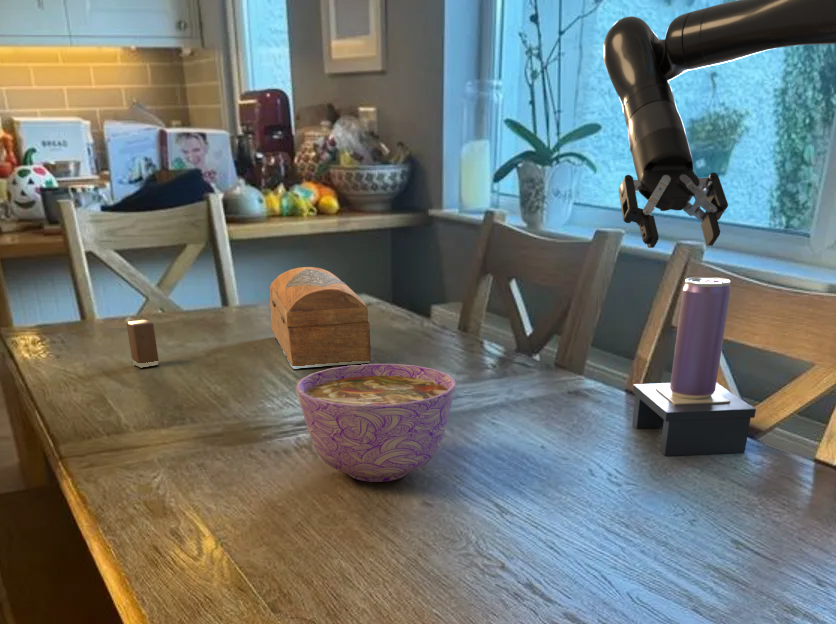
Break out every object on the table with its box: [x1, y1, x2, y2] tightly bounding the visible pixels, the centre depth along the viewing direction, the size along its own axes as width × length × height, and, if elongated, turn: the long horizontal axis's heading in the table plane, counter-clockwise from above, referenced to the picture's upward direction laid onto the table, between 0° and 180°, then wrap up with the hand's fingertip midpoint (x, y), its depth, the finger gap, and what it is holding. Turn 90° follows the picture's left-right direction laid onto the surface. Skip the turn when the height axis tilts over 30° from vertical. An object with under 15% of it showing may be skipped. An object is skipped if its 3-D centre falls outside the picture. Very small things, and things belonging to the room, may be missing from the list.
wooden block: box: [126, 319, 160, 363], centre depth 168 cm, size 4×4×8 cm
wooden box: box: [269, 266, 372, 366], centre depth 176 cm, size 30×16×14 cm, turn 12°
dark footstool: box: [631, 382, 757, 457], centre depth 126 cm, size 12×14×6 cm
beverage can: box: [669, 276, 732, 399], centre depth 121 cm, size 6×6×15 cm
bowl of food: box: [295, 363, 457, 483], centre depth 115 cm, size 20×20×12 cm
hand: (683, 242), depth 123 cm, fingers open, 8 cm apart
